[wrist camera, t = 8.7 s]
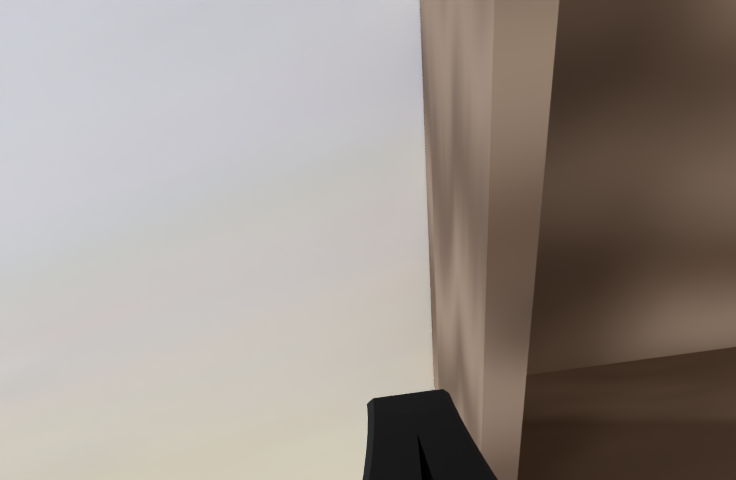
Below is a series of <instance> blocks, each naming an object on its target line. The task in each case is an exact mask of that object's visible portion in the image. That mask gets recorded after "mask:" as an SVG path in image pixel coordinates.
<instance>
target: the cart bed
mask: <svg viewBox="0 0 736 480" xmlns="http://www.w3.org/2000/svg"><path fill="white" fill-rule="evenodd" d="M420 17H421V44H422V71H423V98H424V125H425V152H426V179H427V206H428V233H429V260H430V287H431V313H432V340H433V367H434V387H435V390H439V389H444V390H445V391H447V392H448V393H449V394H450V396H451V398H452V401H453V403H454V405H455V407H456V409H457V411H458V413H459V415H460V417H461V419H462V421H463V423H464V424H465V426H466V428H467V430H468V432H469V433H470V435H471V437H472V439H473V440H474V442H475V444H476V445H477V447H478V449H479V450H480V452H481V454H482V455H483V457H484V459H485V460H486V462H487V464H488V465H489V467H490V468H491V470H492V471H493V473H494V475H495V476H496V478H497V479H498V480H736V0H420Z"/></svg>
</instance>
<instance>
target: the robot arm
mask: <svg viewBox="0 0 736 480" xmlns="http://www.w3.org/2000/svg"><path fill="white" fill-rule="evenodd" d="M367 409H368V436H367V449H366V458H365V466H364V475H363V480H498V479H497V478H496V476H495V475H494V473H493V471H492V470H491V468H490V467H489V465H488V464H487V462H486V460H485V459H484V457H483V455H482V454H481V452H480V450H479V449H478V447H477V445H476V444H475V442H474V440H473V439H472V437H471V435H470V433H469V432H468V430H467V428H466V426H465V424H464V423H463V421H462V419H461V417H460V415H459V413H458V411H457V409H456V407H455V405H454V403H453V401H452V398H451V396H450V394H449V393H448V392H447V391H445V390H444V389H439V390H432V391H424V392H417V393H410V394H402V395H395V396H387V397H380V398H373V399H372V400H371V401H370V402H369V403H368V404H367Z"/></svg>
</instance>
